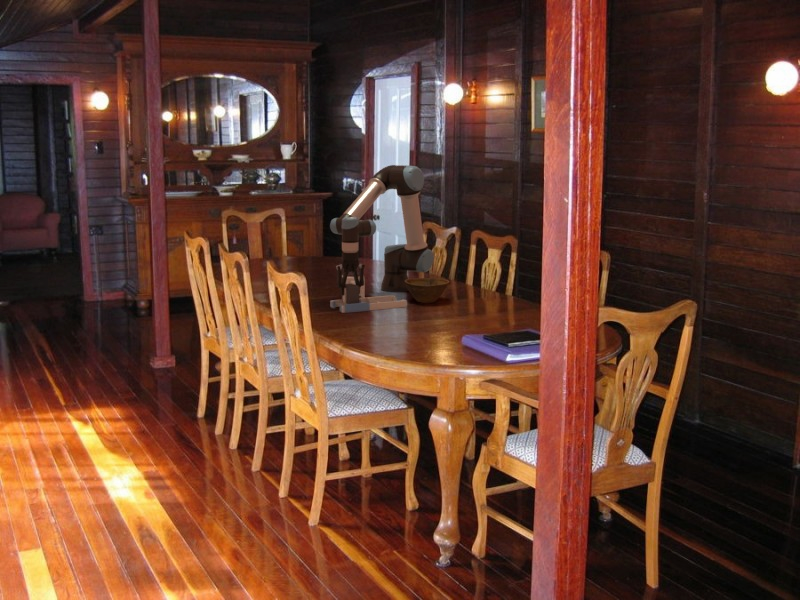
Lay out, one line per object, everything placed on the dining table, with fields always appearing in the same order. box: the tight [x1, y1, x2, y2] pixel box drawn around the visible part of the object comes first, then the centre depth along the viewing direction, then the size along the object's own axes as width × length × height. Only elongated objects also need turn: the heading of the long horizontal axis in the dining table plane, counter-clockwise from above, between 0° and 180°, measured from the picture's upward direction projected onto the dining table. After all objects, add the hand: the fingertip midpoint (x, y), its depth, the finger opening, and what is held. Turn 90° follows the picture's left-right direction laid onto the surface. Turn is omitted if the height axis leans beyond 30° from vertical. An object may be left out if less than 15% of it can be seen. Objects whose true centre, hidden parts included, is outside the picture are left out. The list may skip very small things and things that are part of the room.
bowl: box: [405, 277, 450, 304], centre depth 441 cm, size 22×23×10 cm
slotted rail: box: [329, 294, 408, 314], centre depth 428 cm, size 32×16×4 cm, turn 115°
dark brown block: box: [341, 283, 360, 304], centre depth 423 cm, size 5×9×8 cm, turn 26°
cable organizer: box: [341, 274, 366, 298], centre depth 449 cm, size 15×11×12 cm
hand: (350, 301), depth 424 cm, fingers closed on dark brown block, 5 cm apart
